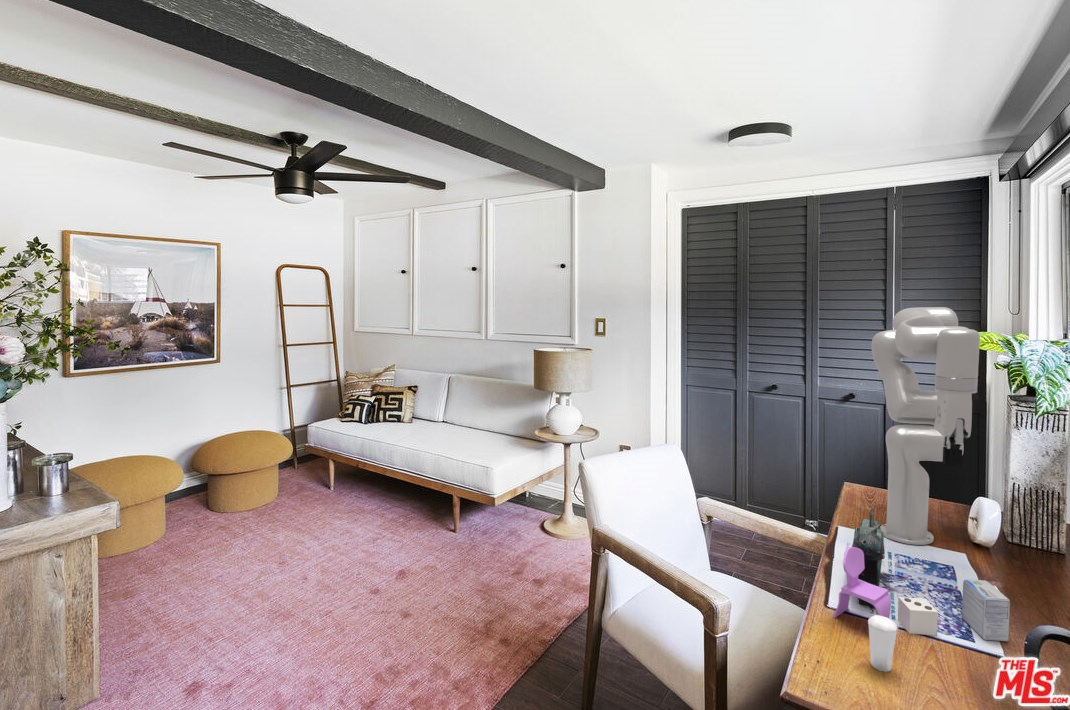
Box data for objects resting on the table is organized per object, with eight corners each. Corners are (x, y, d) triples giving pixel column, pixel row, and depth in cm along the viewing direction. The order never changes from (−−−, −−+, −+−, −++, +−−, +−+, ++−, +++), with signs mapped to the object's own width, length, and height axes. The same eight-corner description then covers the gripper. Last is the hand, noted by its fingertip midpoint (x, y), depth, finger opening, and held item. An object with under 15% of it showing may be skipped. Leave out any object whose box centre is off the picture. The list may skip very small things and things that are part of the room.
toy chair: (875, 639, 110) (878, 566, 109) (830, 619, 117) (832, 550, 116) (893, 624, 115) (896, 554, 113) (848, 606, 122) (850, 540, 120)
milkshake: (894, 680, 98) (896, 626, 97) (862, 664, 102) (863, 613, 101) (905, 670, 101) (907, 617, 100) (873, 655, 105) (875, 604, 104)
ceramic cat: (882, 613, 119) (886, 523, 117) (848, 605, 122) (850, 517, 120) (883, 574, 135) (886, 494, 134) (852, 568, 139) (855, 490, 137)
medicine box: (1009, 642, 108) (1011, 600, 107) (982, 640, 109) (985, 598, 108) (985, 619, 116) (987, 579, 115) (960, 617, 116) (962, 578, 116)
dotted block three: (897, 619, 116) (898, 596, 116) (924, 621, 116) (925, 597, 115) (909, 633, 112) (910, 609, 111) (937, 635, 111) (938, 611, 110)
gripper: (927, 379, 132) (924, 455, 133) (943, 389, 118) (939, 473, 120) (967, 380, 129) (963, 458, 130) (987, 390, 115) (983, 477, 117)
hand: (951, 465), depth 125 cm, fingers closed
